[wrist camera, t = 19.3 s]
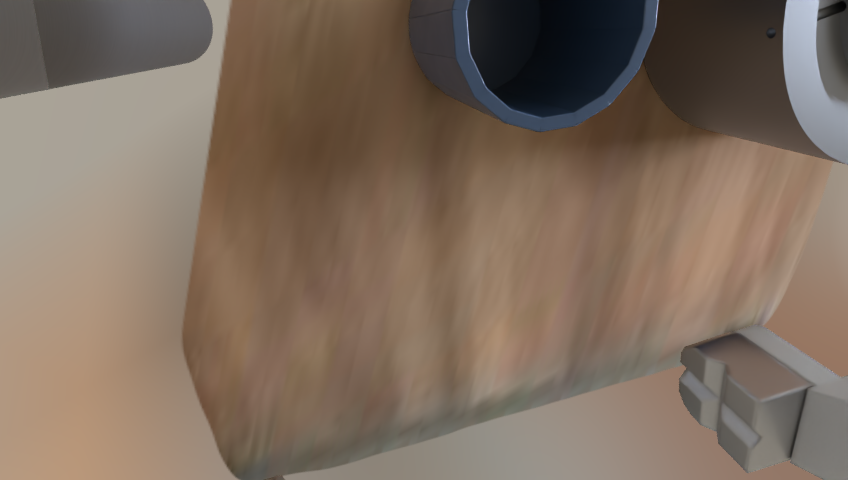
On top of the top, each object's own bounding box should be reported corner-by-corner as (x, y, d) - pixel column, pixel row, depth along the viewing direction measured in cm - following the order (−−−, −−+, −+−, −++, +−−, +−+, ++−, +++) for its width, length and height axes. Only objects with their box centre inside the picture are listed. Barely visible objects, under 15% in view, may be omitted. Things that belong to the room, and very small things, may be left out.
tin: (418, 110, 37) (463, 145, 25) (398, -51, 32) (441, -104, 20) (546, 89, 38) (648, 113, 26) (546, -68, 33) (671, -127, 21)
